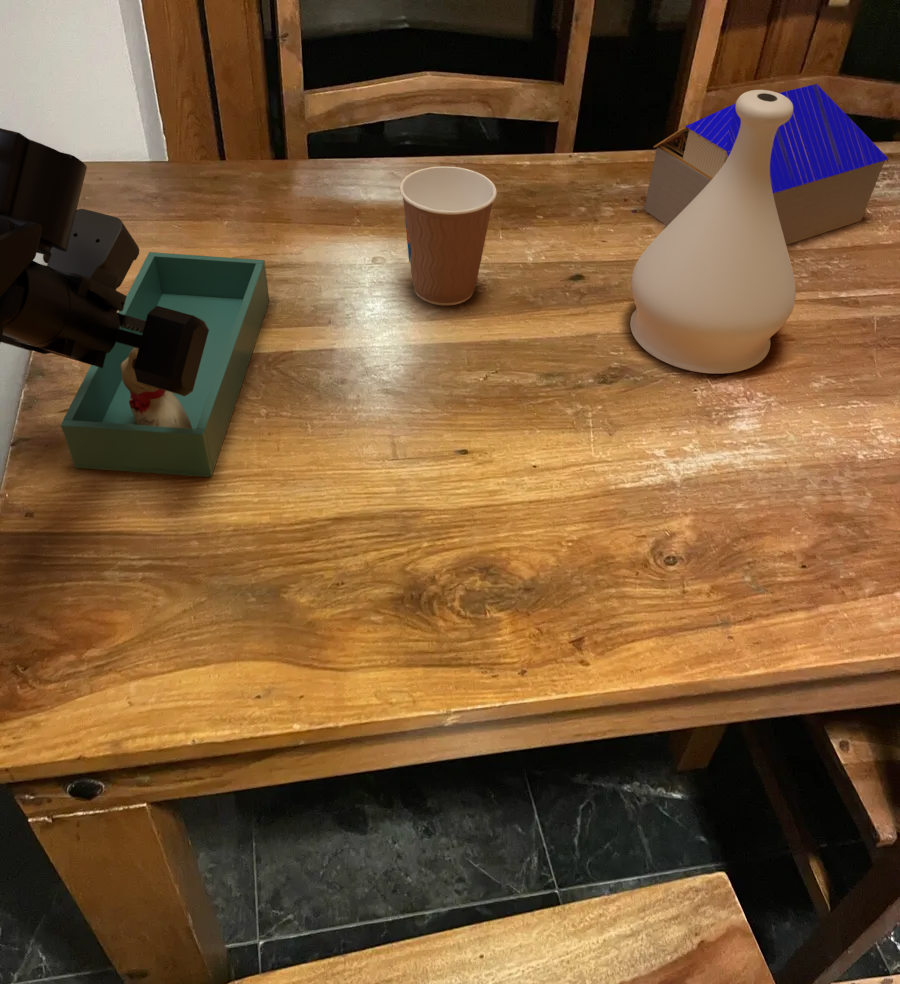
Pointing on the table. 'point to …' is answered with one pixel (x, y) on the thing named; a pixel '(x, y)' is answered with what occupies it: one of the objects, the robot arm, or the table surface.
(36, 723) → the table surface
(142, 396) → the chocolate bunny
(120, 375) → the bin
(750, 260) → the vase
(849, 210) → the house
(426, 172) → the coffee cup
